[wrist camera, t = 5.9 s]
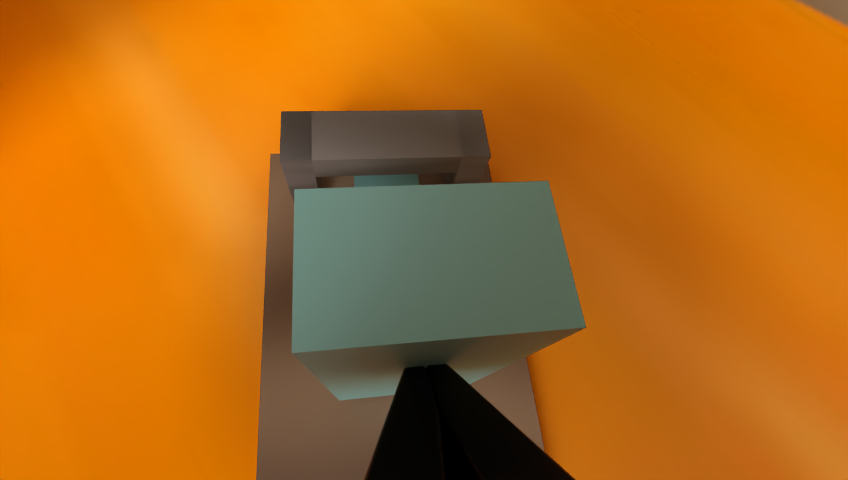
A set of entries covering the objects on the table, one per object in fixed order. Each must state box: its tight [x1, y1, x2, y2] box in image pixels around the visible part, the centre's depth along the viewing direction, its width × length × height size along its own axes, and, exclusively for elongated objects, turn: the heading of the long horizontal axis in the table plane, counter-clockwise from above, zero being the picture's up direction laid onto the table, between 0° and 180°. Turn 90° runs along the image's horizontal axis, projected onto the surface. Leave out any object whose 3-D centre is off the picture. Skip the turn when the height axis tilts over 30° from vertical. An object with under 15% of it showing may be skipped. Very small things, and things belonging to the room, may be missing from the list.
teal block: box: [292, 174, 586, 401], centre depth 12 cm, size 9×4×9 cm, turn 6°
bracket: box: [256, 110, 545, 480], centre depth 14 cm, size 14×9×4 cm, turn 6°
